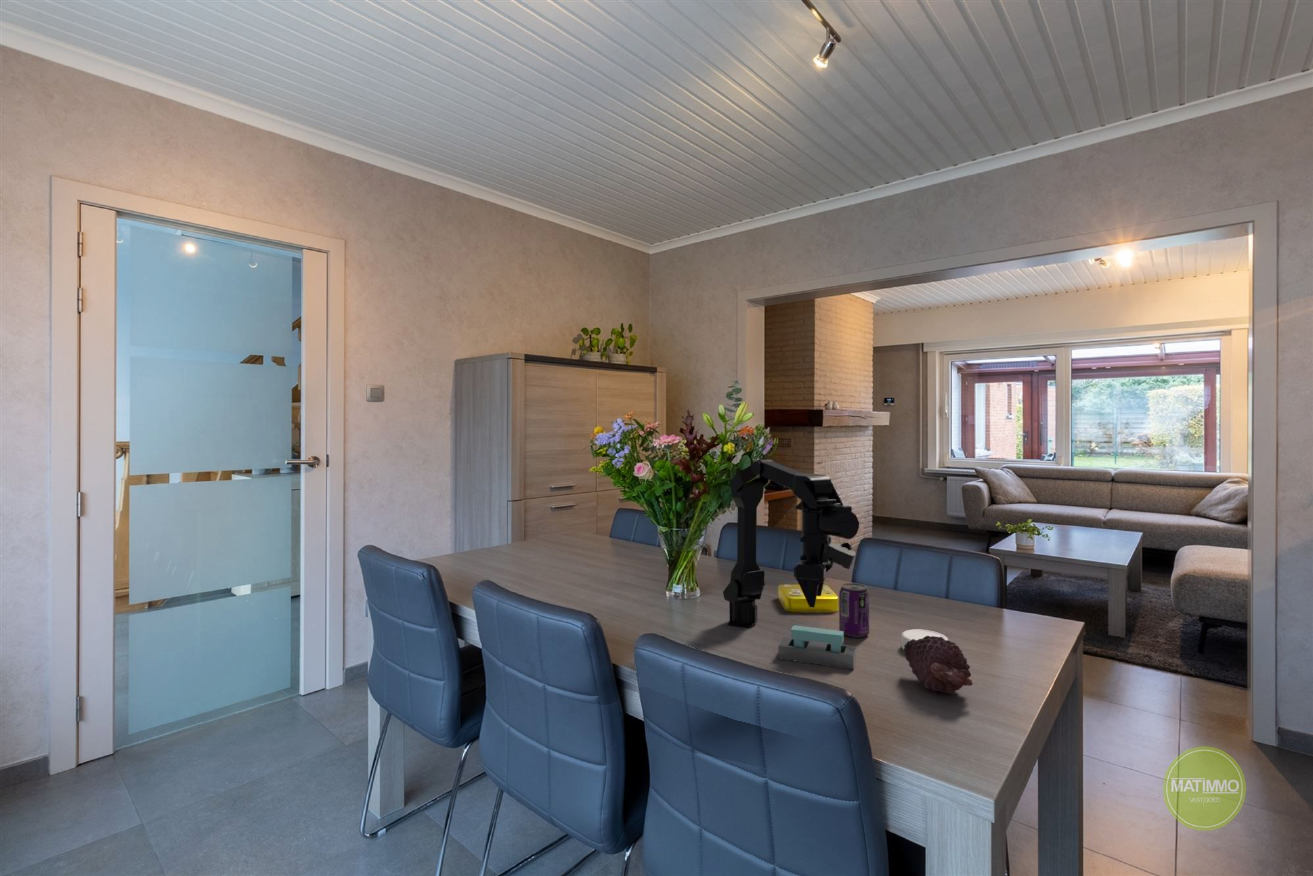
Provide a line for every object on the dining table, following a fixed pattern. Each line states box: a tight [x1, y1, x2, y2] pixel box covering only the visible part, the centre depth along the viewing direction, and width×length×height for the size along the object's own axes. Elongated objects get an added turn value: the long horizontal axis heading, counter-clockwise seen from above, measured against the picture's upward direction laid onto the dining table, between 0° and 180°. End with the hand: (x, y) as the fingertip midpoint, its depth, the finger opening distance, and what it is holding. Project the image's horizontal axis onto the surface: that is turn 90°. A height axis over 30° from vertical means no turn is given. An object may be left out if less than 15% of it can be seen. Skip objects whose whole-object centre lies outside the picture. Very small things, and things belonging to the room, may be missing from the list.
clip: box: [790, 624, 845, 653], centre depth 134 cm, size 11×3×6 cm, turn 67°
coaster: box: [900, 628, 950, 651], centre depth 139 cm, size 10×10×4 cm
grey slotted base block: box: [777, 636, 857, 671], centre depth 134 cm, size 16×6×3 cm, turn 67°
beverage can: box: [838, 582, 870, 638], centre depth 150 cm, size 7×7×12 cm
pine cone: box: [903, 636, 973, 695], centre depth 119 cm, size 18×10×10 cm, turn 12°
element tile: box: [777, 584, 839, 613], centre depth 175 cm, size 15×15×5 cm
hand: (815, 601), depth 135 cm, fingers open, 9 cm apart
